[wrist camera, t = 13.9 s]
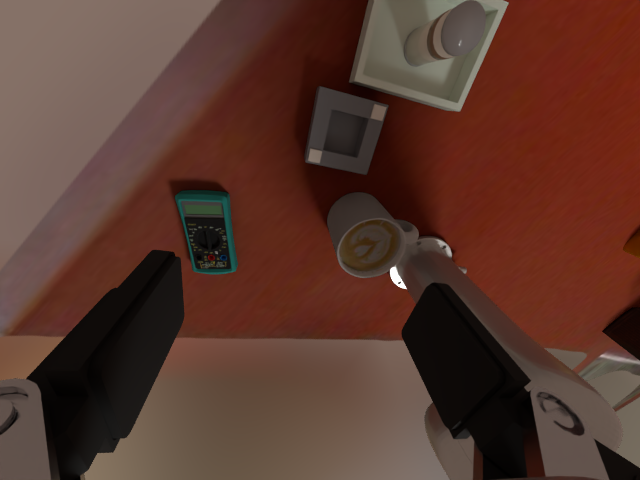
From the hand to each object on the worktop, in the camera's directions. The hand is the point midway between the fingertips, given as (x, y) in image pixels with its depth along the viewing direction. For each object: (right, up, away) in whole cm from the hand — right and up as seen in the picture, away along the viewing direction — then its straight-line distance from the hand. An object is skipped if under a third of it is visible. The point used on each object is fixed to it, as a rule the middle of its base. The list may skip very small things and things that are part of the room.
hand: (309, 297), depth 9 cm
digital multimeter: (-18, +4, +32) cm, 36 cm away
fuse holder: (+3, +18, +25) cm, 31 cm away
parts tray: (+13, +27, +21) cm, 36 cm away
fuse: (+13, +26, +21) cm, 36 cm away
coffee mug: (+8, +6, +33) cm, 35 cm away
